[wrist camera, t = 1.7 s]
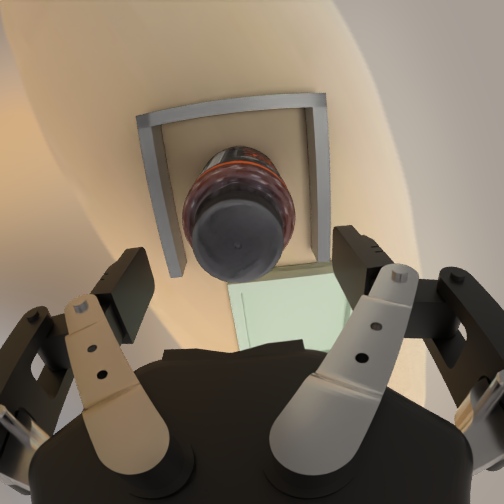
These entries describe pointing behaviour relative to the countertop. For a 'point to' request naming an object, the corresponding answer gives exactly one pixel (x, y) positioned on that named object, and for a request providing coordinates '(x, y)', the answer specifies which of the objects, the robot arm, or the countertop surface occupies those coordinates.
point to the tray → (290, 307)
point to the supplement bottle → (238, 215)
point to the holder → (152, 121)
